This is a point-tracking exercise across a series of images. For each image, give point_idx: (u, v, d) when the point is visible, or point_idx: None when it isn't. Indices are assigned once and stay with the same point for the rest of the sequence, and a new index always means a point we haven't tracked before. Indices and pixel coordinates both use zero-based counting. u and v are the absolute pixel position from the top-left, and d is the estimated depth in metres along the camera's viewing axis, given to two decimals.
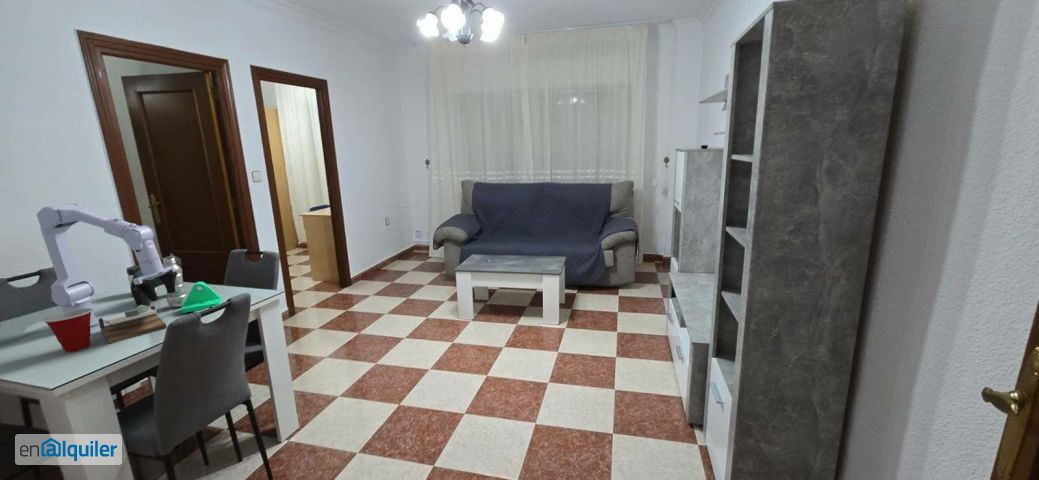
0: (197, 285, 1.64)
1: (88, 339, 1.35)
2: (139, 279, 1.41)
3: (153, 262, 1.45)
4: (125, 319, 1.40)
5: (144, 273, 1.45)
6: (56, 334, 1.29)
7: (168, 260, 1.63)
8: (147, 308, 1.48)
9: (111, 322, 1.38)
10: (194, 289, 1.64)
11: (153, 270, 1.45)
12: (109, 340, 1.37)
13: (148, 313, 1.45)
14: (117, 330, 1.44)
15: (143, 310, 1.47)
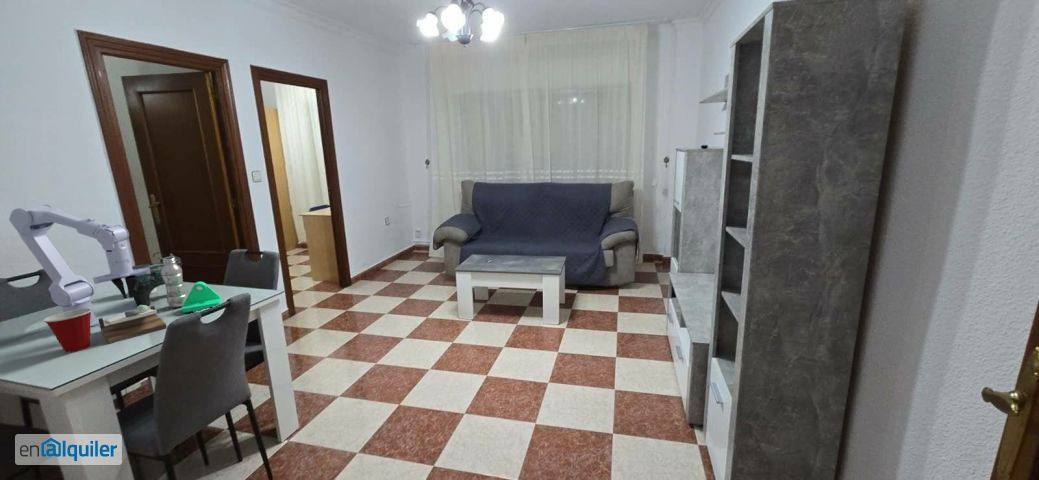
0: (197, 285, 1.64)
1: (88, 339, 1.35)
2: (95, 279, 1.42)
3: (115, 264, 1.44)
4: (125, 319, 1.40)
5: None
6: (56, 334, 1.29)
7: (168, 260, 1.63)
8: (147, 308, 1.48)
9: (111, 322, 1.38)
10: (194, 289, 1.64)
11: (114, 272, 1.44)
12: (109, 340, 1.37)
13: (148, 313, 1.45)
14: (117, 330, 1.44)
15: (143, 310, 1.47)
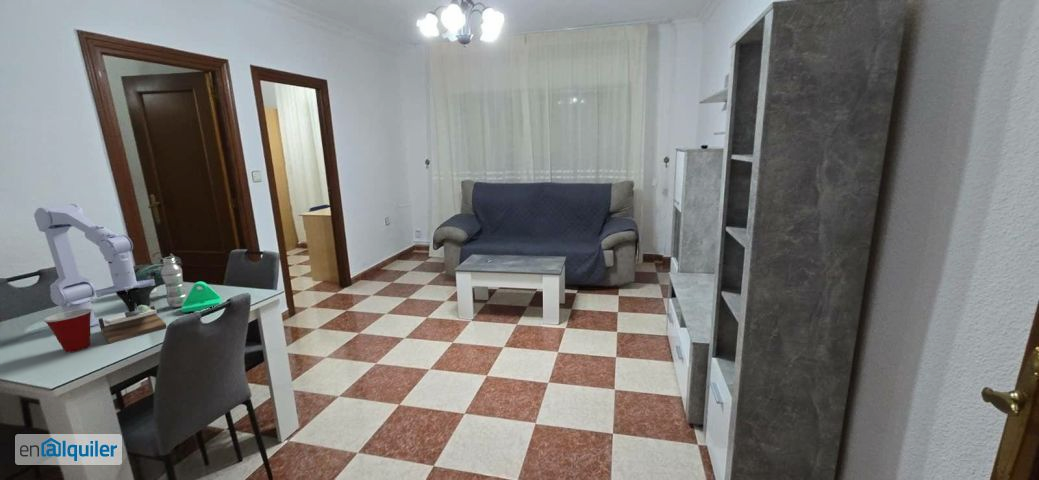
0: (197, 285, 1.64)
1: (88, 339, 1.35)
2: (97, 292, 1.35)
3: (119, 277, 1.37)
4: (125, 319, 1.40)
5: None
6: (56, 334, 1.29)
7: (168, 260, 1.63)
8: (147, 308, 1.48)
9: (111, 322, 1.38)
10: (194, 289, 1.64)
11: (118, 285, 1.37)
12: (109, 340, 1.37)
13: (148, 313, 1.45)
14: (117, 330, 1.44)
15: (143, 310, 1.47)
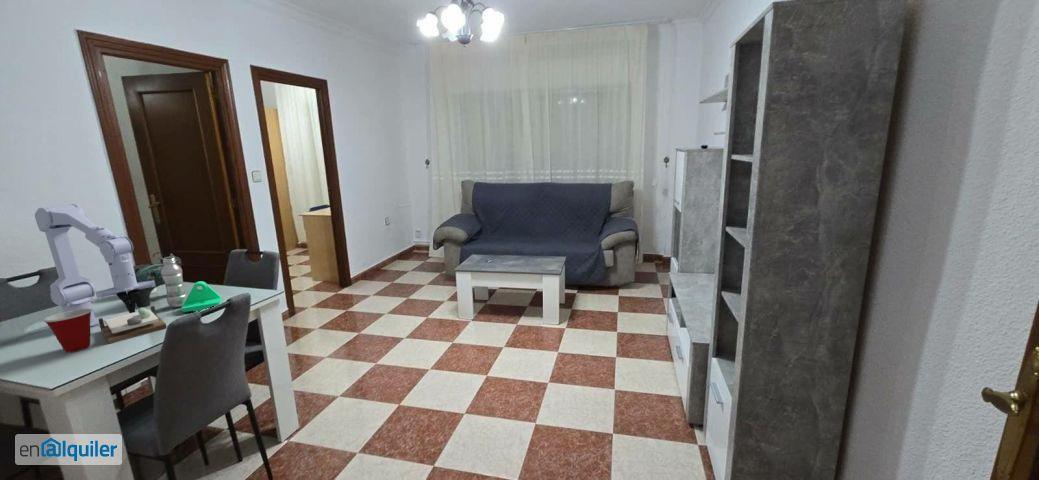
0: (197, 284, 1.65)
1: (88, 339, 1.35)
2: (98, 294, 1.35)
3: (119, 278, 1.37)
4: (127, 328, 1.41)
5: None
6: (56, 334, 1.29)
7: (168, 260, 1.63)
8: (149, 314, 1.48)
9: (113, 331, 1.38)
10: (194, 288, 1.64)
11: (118, 286, 1.38)
12: (109, 340, 1.37)
13: (150, 321, 1.45)
14: None
15: (145, 316, 1.47)
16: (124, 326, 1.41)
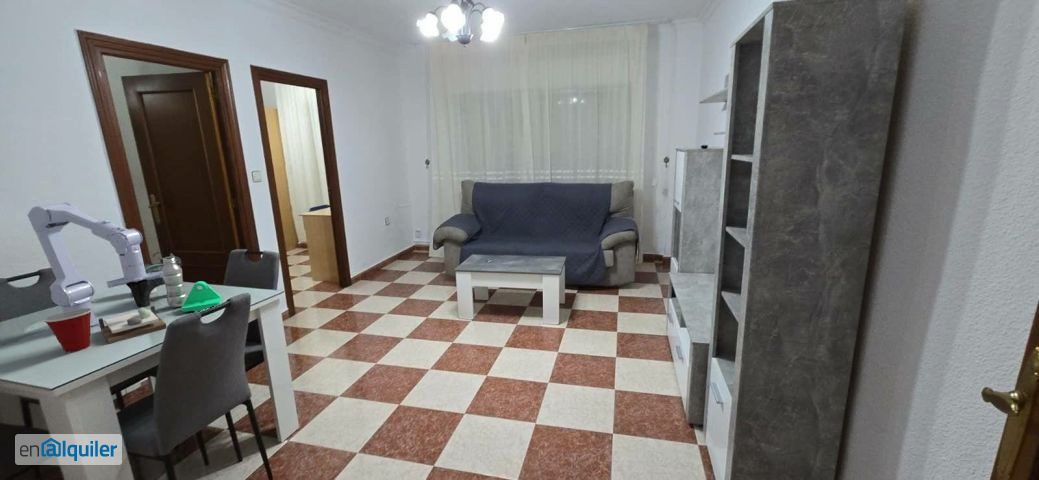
0: (197, 284, 1.65)
1: (88, 339, 1.35)
2: (109, 283, 1.40)
3: (129, 268, 1.43)
4: (127, 328, 1.41)
5: None
6: (56, 334, 1.29)
7: (168, 260, 1.63)
8: (149, 314, 1.48)
9: (113, 331, 1.38)
10: (194, 288, 1.64)
11: (128, 276, 1.43)
12: (109, 340, 1.37)
13: (150, 321, 1.45)
14: None
15: (145, 316, 1.47)
16: (124, 326, 1.41)
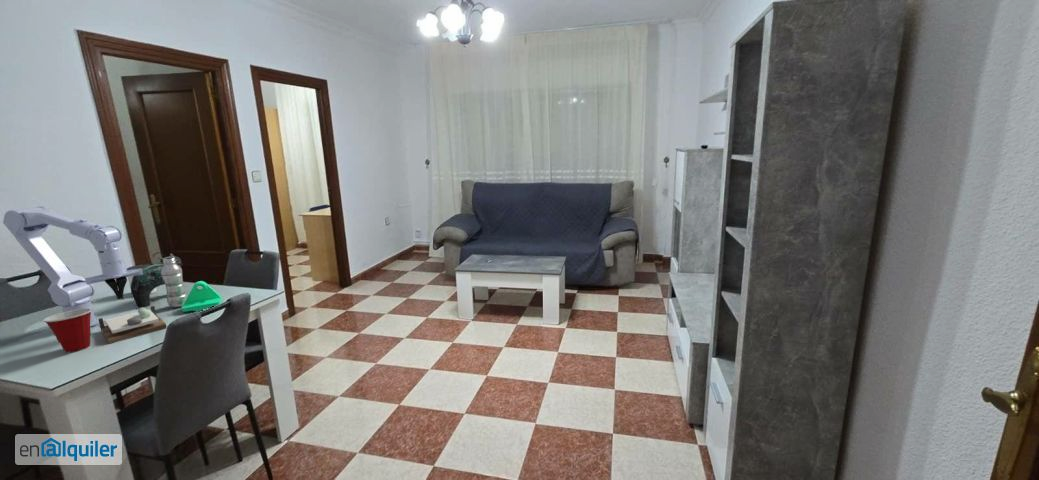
0: (197, 284, 1.65)
1: (88, 339, 1.35)
2: (87, 280, 1.41)
3: (108, 265, 1.44)
4: (127, 328, 1.41)
5: None
6: (56, 334, 1.29)
7: (168, 260, 1.63)
8: (149, 314, 1.48)
9: (113, 331, 1.38)
10: (194, 288, 1.65)
11: (106, 273, 1.44)
12: (109, 340, 1.37)
13: (150, 321, 1.45)
14: None
15: (145, 316, 1.47)
16: (124, 326, 1.41)
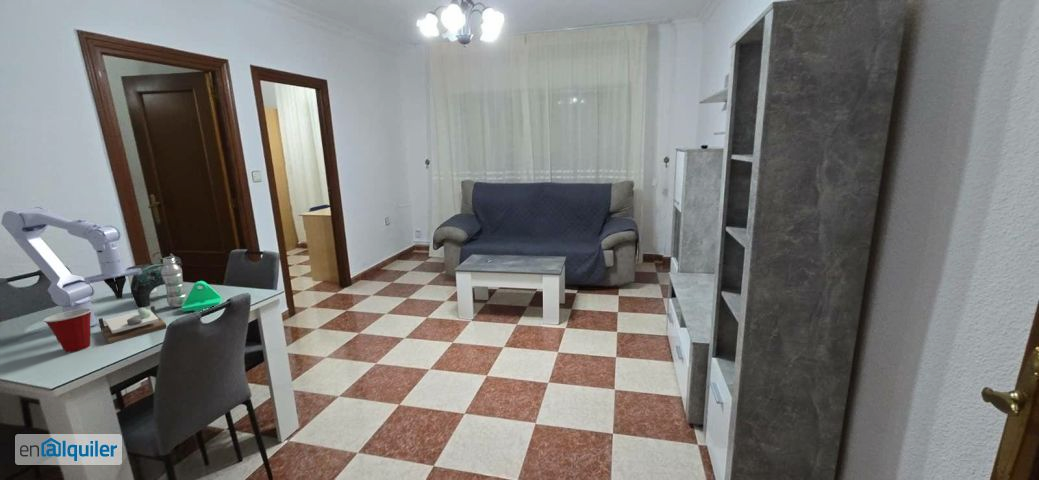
0: (197, 284, 1.65)
1: (88, 339, 1.35)
2: (86, 280, 1.41)
3: (106, 265, 1.44)
4: (127, 328, 1.41)
5: None
6: (56, 334, 1.29)
7: (168, 260, 1.63)
8: (149, 314, 1.48)
9: (113, 331, 1.38)
10: (194, 288, 1.65)
11: (105, 273, 1.44)
12: (109, 340, 1.37)
13: (150, 321, 1.45)
14: None
15: (145, 316, 1.47)
16: (124, 326, 1.41)
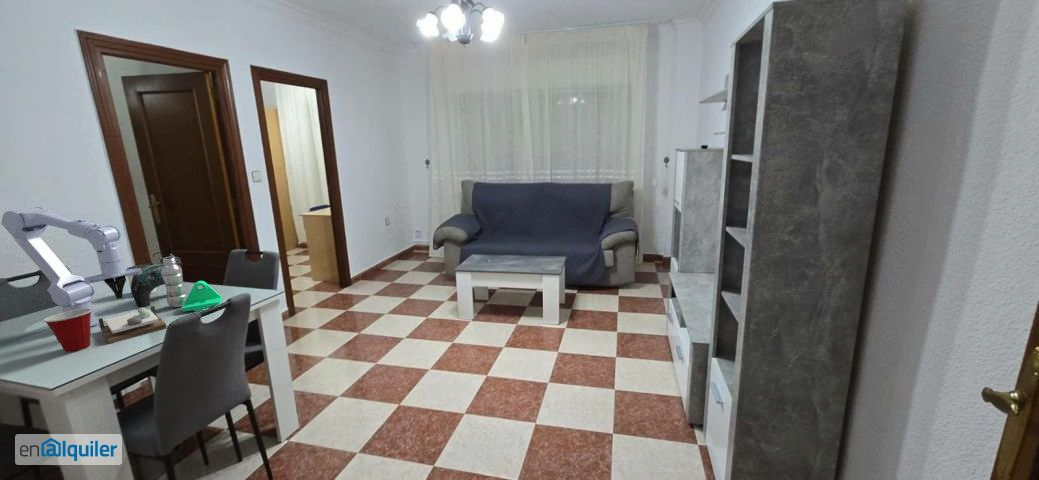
0: (198, 284, 1.65)
1: (88, 339, 1.35)
2: (86, 280, 1.41)
3: (106, 265, 1.44)
4: (127, 328, 1.41)
5: None
6: (56, 334, 1.29)
7: (168, 260, 1.63)
8: (149, 314, 1.48)
9: (113, 331, 1.38)
10: (195, 288, 1.65)
11: (105, 273, 1.44)
12: (109, 340, 1.37)
13: (150, 321, 1.45)
14: None
15: (145, 316, 1.47)
16: (124, 326, 1.41)
